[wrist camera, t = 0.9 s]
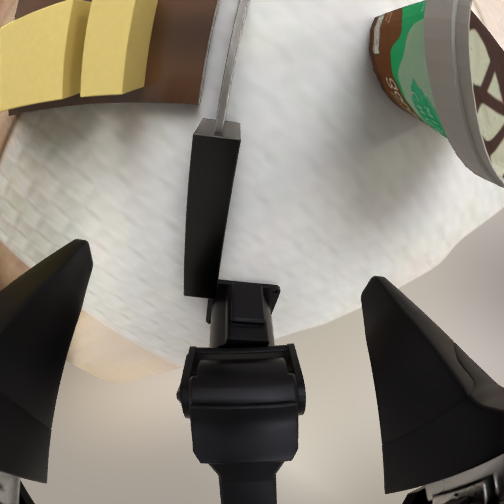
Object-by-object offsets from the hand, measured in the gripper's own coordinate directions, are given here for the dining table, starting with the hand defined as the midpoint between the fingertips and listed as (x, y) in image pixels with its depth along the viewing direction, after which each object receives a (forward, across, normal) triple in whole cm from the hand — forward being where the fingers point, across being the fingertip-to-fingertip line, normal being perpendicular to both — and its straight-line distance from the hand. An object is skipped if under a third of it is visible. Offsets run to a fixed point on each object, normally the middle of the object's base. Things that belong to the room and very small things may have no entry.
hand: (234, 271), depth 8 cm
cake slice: (+12, -11, -8) cm, 18 cm away
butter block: (+10, +13, -7) cm, 18 cm away
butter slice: (+10, +8, -7) cm, 14 cm away
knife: (+12, +1, 0) cm, 12 cm away
